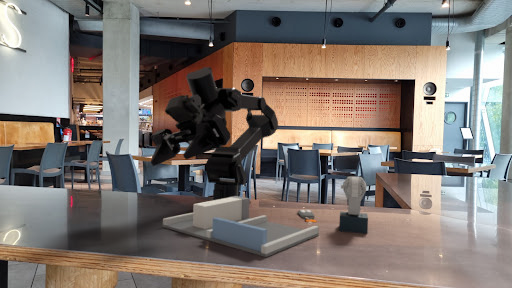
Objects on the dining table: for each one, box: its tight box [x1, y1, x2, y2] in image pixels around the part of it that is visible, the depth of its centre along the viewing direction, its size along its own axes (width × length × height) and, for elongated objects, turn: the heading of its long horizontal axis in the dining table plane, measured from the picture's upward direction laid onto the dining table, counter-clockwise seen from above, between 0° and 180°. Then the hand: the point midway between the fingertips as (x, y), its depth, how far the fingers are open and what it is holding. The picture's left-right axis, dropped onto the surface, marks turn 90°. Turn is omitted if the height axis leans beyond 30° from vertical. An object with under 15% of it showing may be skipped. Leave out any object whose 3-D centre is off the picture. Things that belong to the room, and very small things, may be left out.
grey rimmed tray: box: [162, 212, 320, 258], centre depth 74 cm, size 17×26×4 cm, turn 51°
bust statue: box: [338, 175, 369, 235], centre depth 78 cm, size 6×8×11 cm
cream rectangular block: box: [192, 195, 250, 229], centre depth 79 cm, size 13×4×4 cm, turn 141°
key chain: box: [297, 209, 317, 224], centre depth 86 cm, size 13×4×2 cm, turn 5°
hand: (168, 160), depth 74 cm, fingers open, 9 cm apart
